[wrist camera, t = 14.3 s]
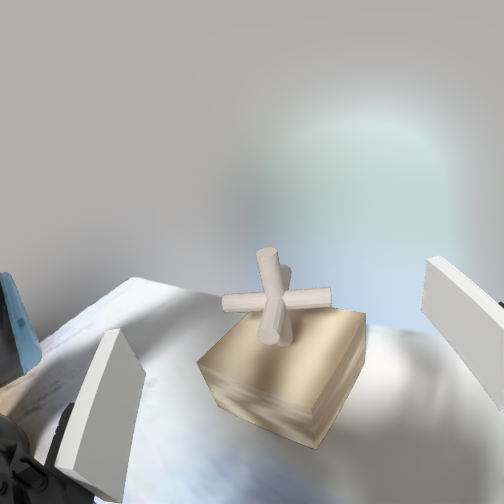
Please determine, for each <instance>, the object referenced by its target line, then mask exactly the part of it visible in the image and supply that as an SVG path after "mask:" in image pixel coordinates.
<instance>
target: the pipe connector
mask: <svg viewBox="0 0 504 504" xmlns="http://www.w3.org/2000/svg"><path fill="white" fill-rule="evenodd" d="M256 258H257V262H258V267H259V271H260V276H261V280H262V284H263V289H264V292H256V293H255V292H254V293H237V294H224V295H223V297H222V308H223V311H224V312H225V313H238V312H261V311H263V314H262V318H261V322H260V325H259V329H258V332H257V338H258V339H259V341H260V342H262V343H264V344H268V345H272V344H277V345H278V346H283V347H284V346H288V345H290V344H291V343H292V342H293V334H292V328H291V323H290V317H289V312H288V310H296V309H311V308H324V307H332V299H331V287H321V288H309V289H296V290H289V283H290V278H291V272H292V271H291V269H290V268H289V267H288V266H287V265H280V263H279V258H278V253H277V249H276V248H272V247H268V248H263V249H260V250H259V251H257V252H256Z"/></svg>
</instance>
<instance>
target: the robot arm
mask: <svg viewBox="0 0 504 504" xmlns="http://www.w3.org/2000/svg"><path fill="white" fill-rule="evenodd" d="M421 311H422V312H423V313H424V315H425V316H426V317H427V318H428V319H429V320H430V322H431V323H432V324H433V325H434V326H435V327H436V329H437V330H438V331H439V332H440V333H441V335H442V336H443V337H444V338H445V339H446V341H447V342H448V343H449V344H450V346H451V347H452V348H453V349H454V351H455V352H456V353H457V354H458V356H459V357H460V358H461V359H462V361H463V362H464V363H465V364H466V366H467V367H468V368H469V370H470V371H471V372H472V374H473V375H474V376H475V378H476V379H477V380H478V382H479V383H480V384H481V386H482V387H483V388H484V390H485V391H486V392H487V394H488V395H489V397H490V398H491V399H492V401H493V402H494V404H495V405H496V407H497V408H498V409H499V411H500V410H501V409H503V408H504V304H503V303H502V302H499V303H496V302H495V301H494V300H493V299H492V298H491V297H490V296H489V295H488V294H486V293H485V292H484V291H483V290H482V289H481V288H480V287H478V286H477V285H476V284H475V283H474V282H472V281H471V280H470V279H469V278H467V277H466V276H465V275H464V274H463V273H461V272H460V271H459V270H458V269H457V268H455V267H454V266H453V265H452V264H450V263H449V262H448V261H446V260H445V259H444V258H443V257H441V256H440V255H439V256H436V257H432V258H429V259H427V262H426V272H425V282H424V291H423V298H422V305H421ZM41 359H42V350H41V347H40V344H39V341H38V339H37V336H36V334H35V331H34V329H33V327H32V324H31V322H30V319H29V317H28V314H27V312H26V310H25V307H24V305H23V302H22V300H21V297H20V295H19V292H18V290H17V287H16V285H15V283H14V280H13V278H12V276H11V275H10V274H9V273H7V272H4V273H0V389H1V388H2V387H4V386H6V385H8V384H9V383H11V382H13V381H14V380H16V379H18V378H19V377H21V376H25V375H26V374H27V372H28V371H29V370H31V369H32V368H34V367H35V366H37V365H38V364H39V363H40V361H41ZM145 376H146V372H145V371H144V369H143V367H142V366H141V364H140V362H139V361H138V359H137V357H136V356H135V354H134V352H133V350H132V349H131V347H130V345H129V343H128V341H127V340H126V338H125V336H124V334H123V332H122V330H121V328H119V329H113V330H106V331H105V333H104V335H103V337H102V339H101V342H100V344H99V346H98V348H97V351H96V353H95V355H94V358H93V360H92V362H91V365H90V367H89V369H88V372H87V374H86V377H85V379H84V382H83V384H82V387H81V389H80V392H79V394H78V397H77V400H76V402H75V403H70V404H69V405H68V406H67V408H66V409H65V410H64V411H63V413H62V415H61V418H60V421H59V423H58V424H59V426H57V429H56V432H55V433H56V435H54V437H53V440H52V443H51V446H50V449H49V452H48V455H47V458H46V461H45V464H44V466H43V465H42V464H40V463H39V462H38V461H37V460H35V459H34V458H33V457H31V456H30V455H29V444H28V440H27V437H26V435H25V433H24V432H23V431H22V430H21V429H20V428H19V427H18V426H17V425H16V424H15V423H14V422H13V421H12V420H11V419H9V418H8V417H6V416H4V415H3V414H1V413H0V504H96V502H95V501H94V496H97V497H99V498H100V499H102V500H103V501H107V502H114V503H122V502H123V495H124V487H125V481H126V474H127V468H128V461H129V456H130V450H131V444H132V439H133V433H134V428H135V423H136V418H137V413H138V408H139V403H140V399H141V394H142V389H143V385H144V381H145Z"/></svg>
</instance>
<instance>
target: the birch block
mask: <svg viewBox="0 0 504 504" xmlns="http://www.w3.org/2000/svg"><path fill="white" fill-rule="evenodd" d="M288 312H289V317H290V323H291V328H292V334H293V342H292V343H291V344H290V345H288V346H284V347H283V346H278V345H277V344H272V345H268V344H264V343H262V342H260V341H259V339H258V338H257V332H258V329H259V325H260V322H261V318H262V314H263V311H261V312H248V313H247V314H246V315H245V316H244V317H243V318H242V319H241V320H240V321H239V322H238V323H237V324H236V325H235V326H234V327H233V328H232V329H231V330H230V331H229V332H228V333H227V334H226V335H225V336H224V337H223V338H222V339H220V340H219V341H218V342H217V343H216V344H215V345H214V346H213V347H212V348H211V349H210V350H209V351H208V352H207V353H206V354H205V355H204V356H203V357H202V358H200V359H199V360H198V361H197V364H198V366H199V368H200V371H201V373H202V375H203V377H204V379H205V381H206V383H207V385H208V387H209V389H210V391H211V393H212V395H213V397H214V399H215V401H216V403H217V405H218V407H220V408H222V409H224V410H226V411H228V412H230V413H232V414H234V415H236V416H238V417H240V418H242V419H244V420H246V421H248V422H251V423H253V424H255V425H257V426H259V427H261V428H264V429H266V430H268V431H271V432H273V433H275V434H278V435H280V436H282V437H285V438H287V439H290V440H292V441H295V442H297V443H300V444H302V445H305V446H308V447H310V448H313V449H317V448H318V446H319V445H320V443H321V442H322V440H323V438H324V437H325V435H326V433H327V432H328V430H329V428H330V427H331V425H332V423H333V422H334V420H335V418H336V416H337V415H338V413H339V411H340V409H341V408H342V406H343V404H344V402H345V400H346V399H347V397H348V395H349V393H350V391H351V389H352V387H353V385H354V383H355V381H356V379H357V377H358V375H359V373H360V371H361V369H362V367H363V365H364V362H365V334H366V313H360V312H355V311H349V310H343V309H338V308H332V307H324V308H311V309H296V310H288Z"/></svg>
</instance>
